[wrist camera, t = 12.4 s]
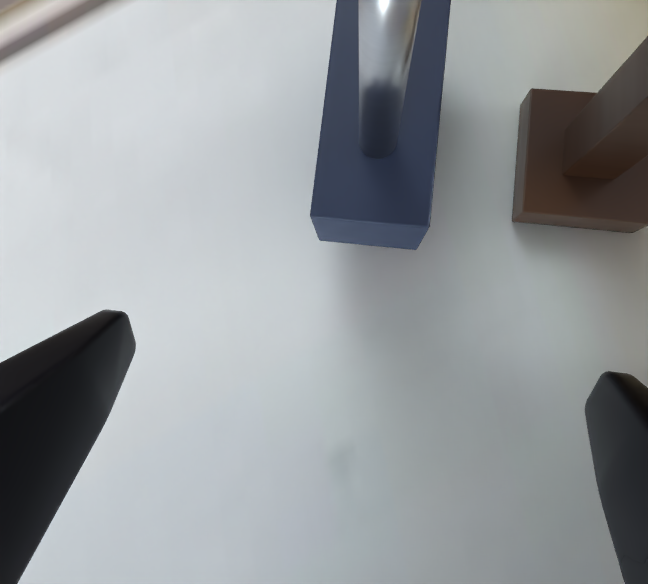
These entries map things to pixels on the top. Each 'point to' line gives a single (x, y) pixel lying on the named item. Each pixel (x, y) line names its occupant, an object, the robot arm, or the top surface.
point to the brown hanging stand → (586, 154)
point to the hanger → (381, 122)
